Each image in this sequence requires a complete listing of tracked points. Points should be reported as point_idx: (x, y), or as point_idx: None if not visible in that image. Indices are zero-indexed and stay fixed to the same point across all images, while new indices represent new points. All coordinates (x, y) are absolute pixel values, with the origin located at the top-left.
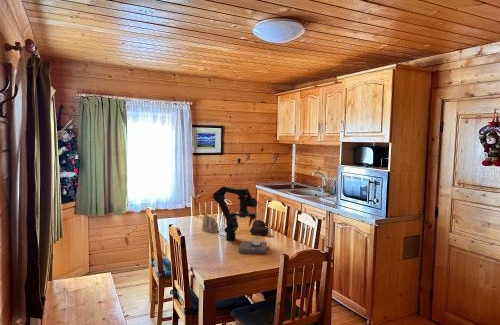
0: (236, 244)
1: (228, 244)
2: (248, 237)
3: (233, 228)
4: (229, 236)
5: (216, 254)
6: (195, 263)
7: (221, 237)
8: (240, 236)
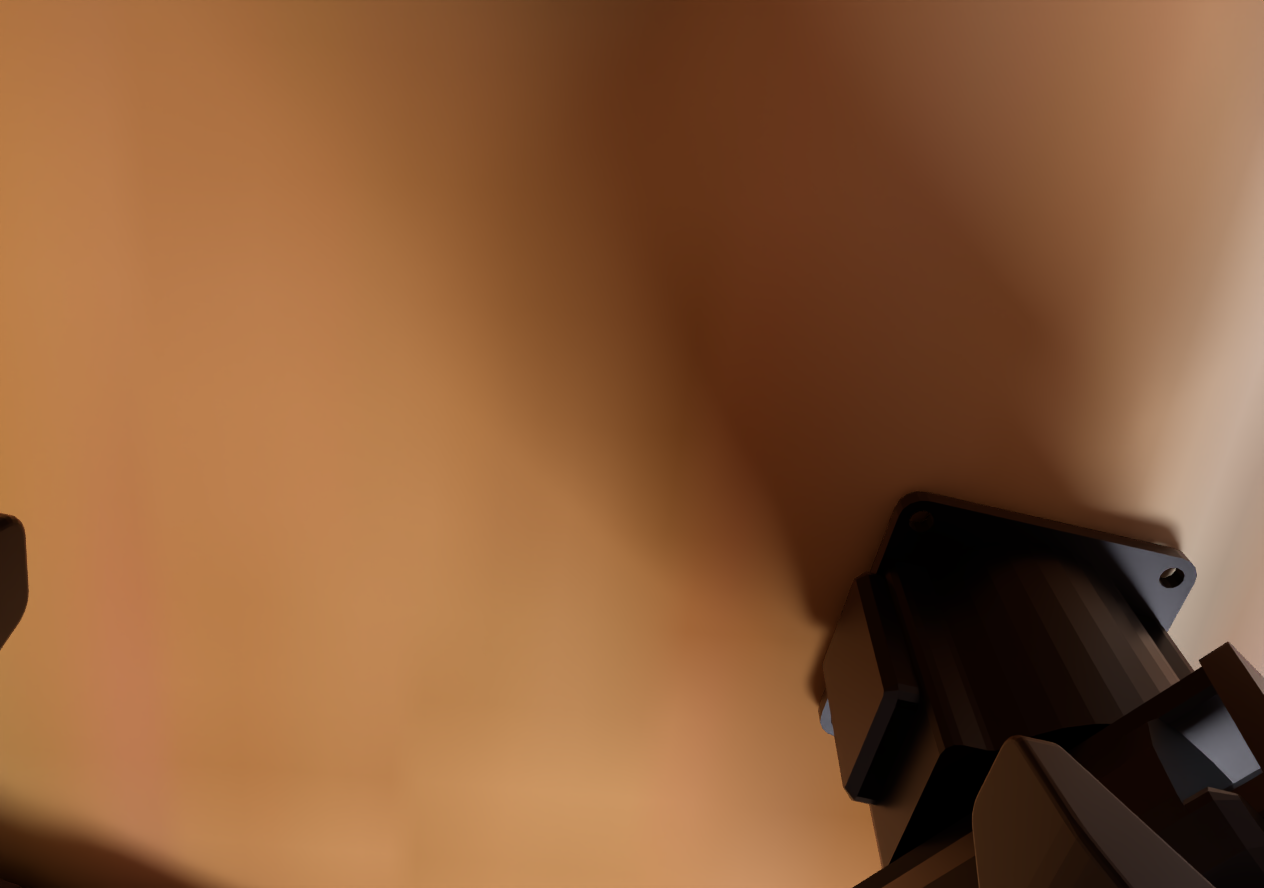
0: (902, 43)
1: (1237, 63)
2: (390, 760)
3: (1134, 772)
4: (1110, 620)
5: None
6: None
7: None
8: (623, 857)
